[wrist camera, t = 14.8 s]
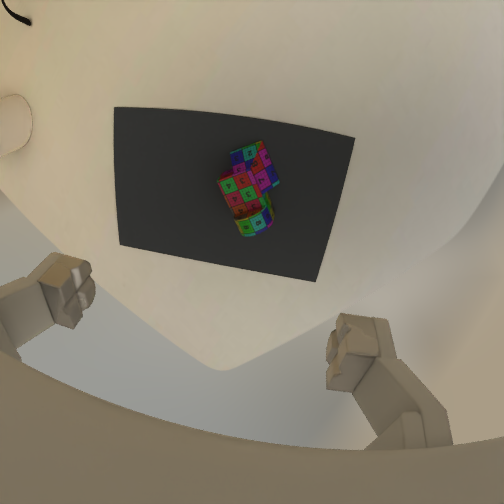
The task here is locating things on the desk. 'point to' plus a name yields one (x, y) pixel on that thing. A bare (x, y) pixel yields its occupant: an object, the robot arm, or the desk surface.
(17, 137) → the candle
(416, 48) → the desk surface
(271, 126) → the mat
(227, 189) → the block
